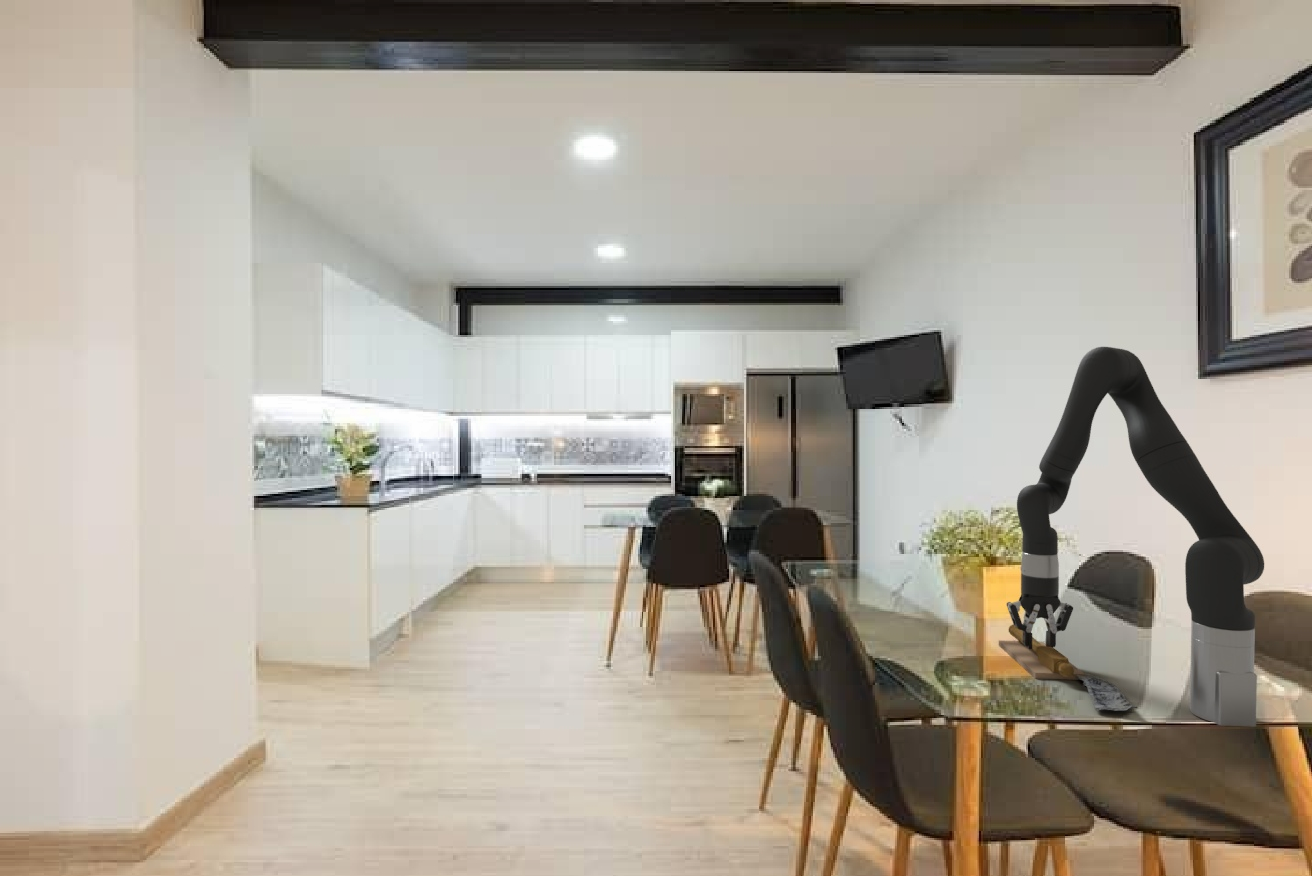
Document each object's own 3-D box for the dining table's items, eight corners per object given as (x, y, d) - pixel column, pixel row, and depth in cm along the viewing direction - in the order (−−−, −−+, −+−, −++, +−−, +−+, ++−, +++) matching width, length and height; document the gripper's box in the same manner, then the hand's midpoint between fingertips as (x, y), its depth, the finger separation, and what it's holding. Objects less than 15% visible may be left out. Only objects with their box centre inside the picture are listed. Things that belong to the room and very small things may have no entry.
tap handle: (1020, 623, 179) (1077, 665, 150) (1020, 635, 179) (1076, 679, 150) (1007, 623, 180) (1061, 664, 150) (1007, 635, 180) (1061, 679, 150)
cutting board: (1085, 679, 153) (1085, 674, 153) (1035, 678, 154) (1035, 672, 154) (1042, 646, 175) (1042, 641, 175) (998, 645, 176) (998, 640, 176)
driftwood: (1072, 677, 155) (1071, 667, 155) (1108, 679, 153) (1108, 669, 153) (1096, 712, 136) (1095, 701, 136) (1138, 715, 134) (1137, 703, 134)
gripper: (1012, 575, 161) (1012, 652, 161) (1080, 576, 159) (1080, 654, 160) (1000, 568, 168) (1000, 642, 169) (1065, 569, 167) (1065, 643, 167)
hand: (1039, 647), depth 164 cm, fingers open, 4 cm apart
